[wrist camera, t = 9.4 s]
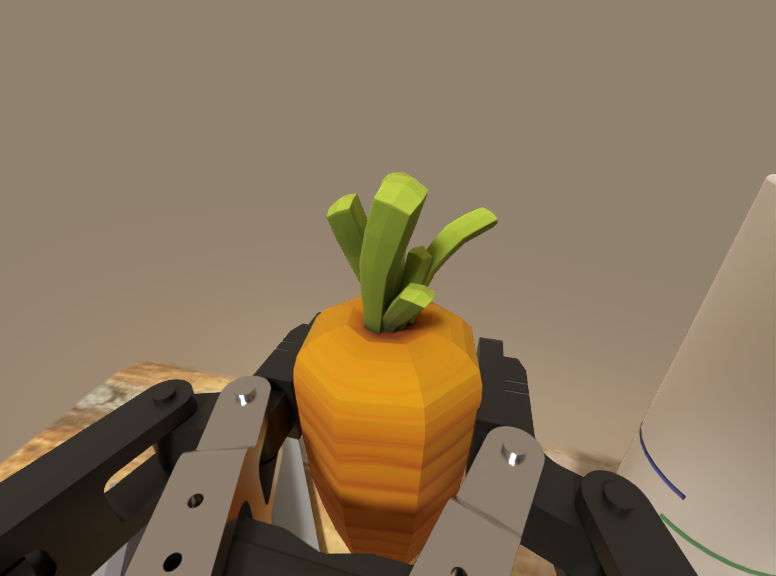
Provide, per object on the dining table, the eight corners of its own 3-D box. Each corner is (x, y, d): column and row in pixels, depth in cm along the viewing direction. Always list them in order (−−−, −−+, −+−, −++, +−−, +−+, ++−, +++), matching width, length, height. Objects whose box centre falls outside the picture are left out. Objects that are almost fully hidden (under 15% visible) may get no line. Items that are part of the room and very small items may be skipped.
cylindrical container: (640, 525, 26) (862, 170, 14) (740, 658, 20) (1280, 233, 8) (551, 544, 25) (713, 174, 13) (629, 692, 19) (1069, 251, 7)
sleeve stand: (297, 437, 32) (292, 405, 30) (334, 629, 21) (330, 597, 19) (113, 490, 28) (94, 456, 26) (33, 769, 17) (-12, 746, 15)
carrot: (363, 480, 17) (356, 143, 10) (464, 533, 15) (542, 160, 8) (292, 591, 13) (202, 170, 6) (415, 683, 11) (485, 215, 4)
